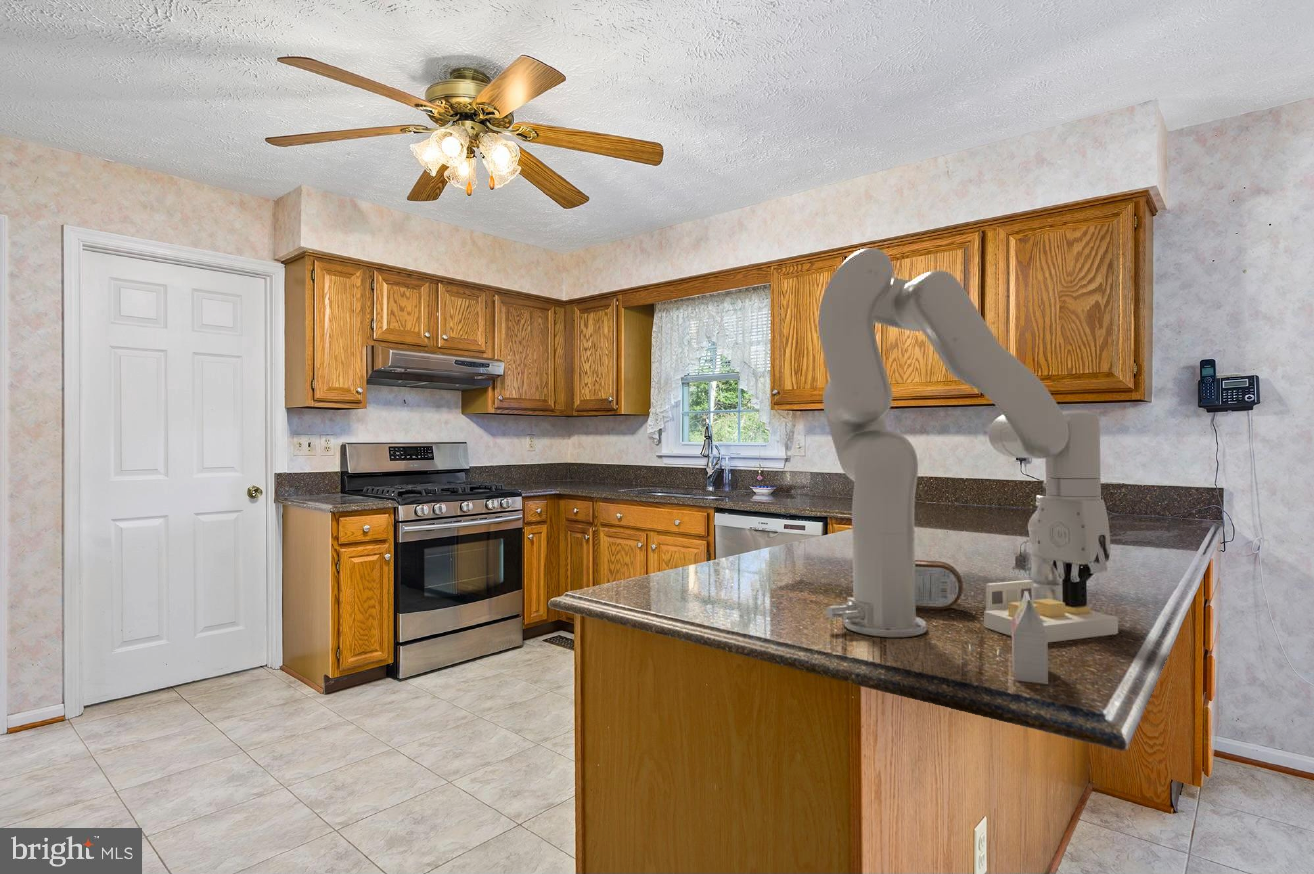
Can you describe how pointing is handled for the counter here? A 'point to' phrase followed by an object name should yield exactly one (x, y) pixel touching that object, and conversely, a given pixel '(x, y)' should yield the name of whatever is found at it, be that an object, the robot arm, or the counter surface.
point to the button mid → (1050, 608)
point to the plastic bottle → (1042, 566)
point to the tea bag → (1029, 644)
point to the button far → (1077, 610)
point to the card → (1006, 593)
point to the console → (1059, 625)
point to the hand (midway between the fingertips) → (1074, 604)
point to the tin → (937, 585)
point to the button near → (1014, 606)
